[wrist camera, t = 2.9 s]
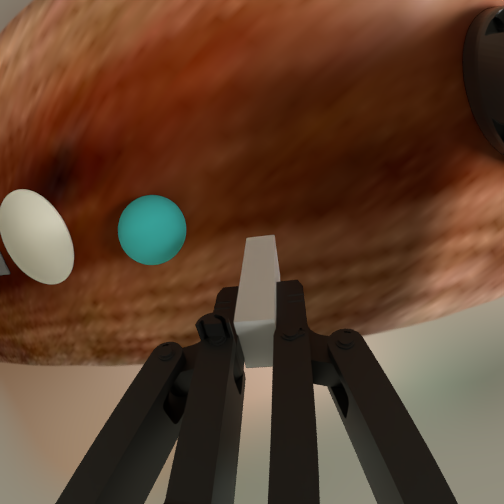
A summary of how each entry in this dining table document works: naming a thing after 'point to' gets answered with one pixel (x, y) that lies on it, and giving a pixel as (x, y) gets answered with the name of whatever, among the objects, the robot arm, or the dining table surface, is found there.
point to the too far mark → (3, 266)
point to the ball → (152, 230)
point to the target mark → (36, 236)
